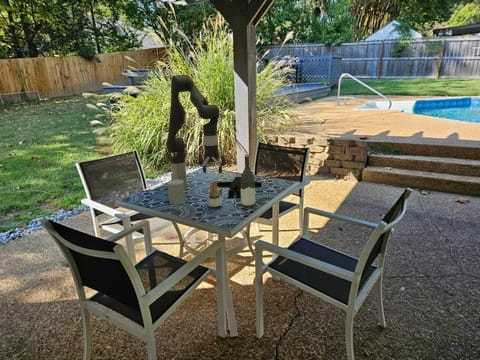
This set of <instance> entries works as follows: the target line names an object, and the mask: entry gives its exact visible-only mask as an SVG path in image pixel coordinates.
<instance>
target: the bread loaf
mask: <svg viewBox="0 0 480 360" xmlns="http://www.w3.org/2000/svg"><path fill="white" fill-rule="evenodd" d="M217 182H218V181H216V180H212V181H209V193H210V194H209V195H210V196H211V199H215V198H218V192H217V188H218V186H217Z"/></svg>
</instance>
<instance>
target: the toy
mask: <svg viewBox="0 0 480 360" xmlns="http://www.w3.org/2000/svg"><path fill="white" fill-rule="evenodd" d="M240 180H241V176H235V177H234V178H233V179H232V181H216V182H217V187H218V188H229V189H228V190H227V191H228V192H227V195H228V199H234V198H236V199H241V184H240ZM262 186H263V184H262V182H260V181H255V188H260V187H262Z"/></svg>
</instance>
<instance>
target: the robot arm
mask: <svg viewBox="0 0 480 360" xmlns="http://www.w3.org/2000/svg"><path fill="white" fill-rule="evenodd" d="M183 92H184V93H185V92H188V93H189V94H190V95H189V100H190V102H191V103H192V105H193V106H194V107H195V108H196V110H197V114H198V116H199V118H200V119H202V120H209V121H208V122H207V123H205V124H203V127H202V128H203V129H202V131H203V148H204V149H203V150H204V151H203V152H204V153H199V154H198V165H199V166H201V167H202V172H203V173H204V174H205V173H207V163H215V164H216V165H217V166H218V174H222V172H223V167H225V165H226V157H225V154H224V153H222V154H219V138H218V137H219V136H218V124H219V122H218V121H219V118H220V109H219V107H218V105H216V104H214V103H213V104H209V101H208V100H207V98H205V96H204V95H203V94H202V93H201V91H199V89H198V87H197V85H196V83H195V82H194V80H193V79H192V78H191V77H190V75H188V74H174V75H172V77H171V80H170V108H169V109H170V110H169V119H168V121H169V123H168V133H167V138H166V150H167V152H168V153H170V154H173V153H174V154H175V153H176V154H175V155H174V156H172V157H170V166H171V174H170V176H171V177H170V179H171V180H177V179H179V180H183V181H184V189H185V188H187V187H188V181H187V180H188V179H187V168H186V166H187V165H186V149H185V148H186V146H185V141H184V138H182V137H176V136H177V134H178V133H179V132H180V130H181V129H182V128H183V126H184V124H185V122H186V109H185V108H184V106H183V104H182V103H181V101H180V96H179V95H180V93H183ZM203 158H204V159H205V160H204V161H203ZM220 159H221V160H220Z"/></svg>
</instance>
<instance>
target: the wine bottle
mask: <svg viewBox="0 0 480 360" xmlns="http://www.w3.org/2000/svg"><path fill="white" fill-rule="evenodd" d="M240 177H241V180H240V184H241V198H240V205H241V207H243V208H247V209H250V208H254V207H255V205H256V187H255V182H256V179H255V176H254V173H253V171H252V169H251V167H250V154H249V153H245V154H244V168H243V171H242V173H241V175H240Z"/></svg>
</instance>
